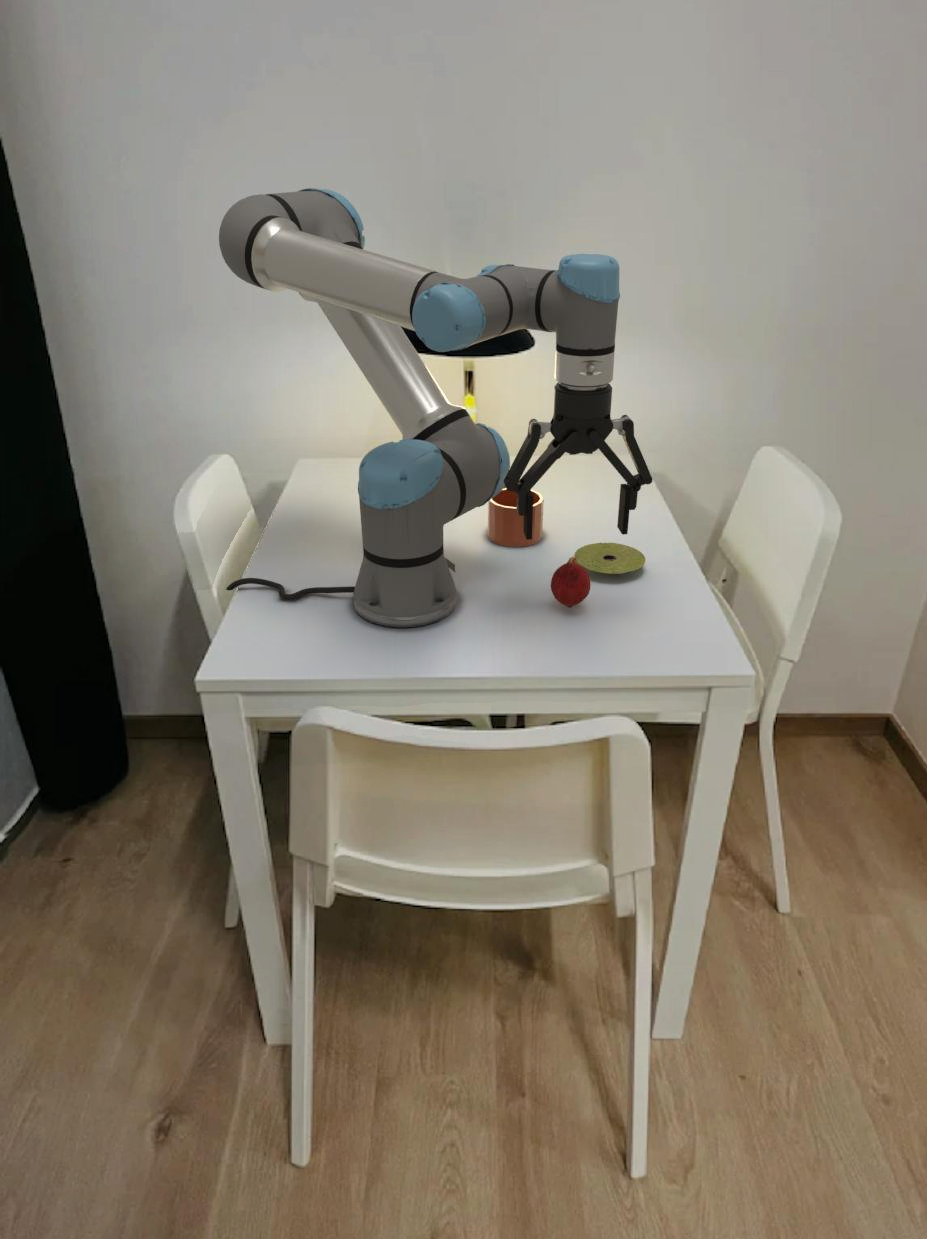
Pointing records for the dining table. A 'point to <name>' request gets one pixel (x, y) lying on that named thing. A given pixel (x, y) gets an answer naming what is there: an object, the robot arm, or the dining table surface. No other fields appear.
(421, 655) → the dining table surface
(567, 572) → the onion
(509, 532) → the flower pot
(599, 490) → the dining table surface
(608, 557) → the mat
